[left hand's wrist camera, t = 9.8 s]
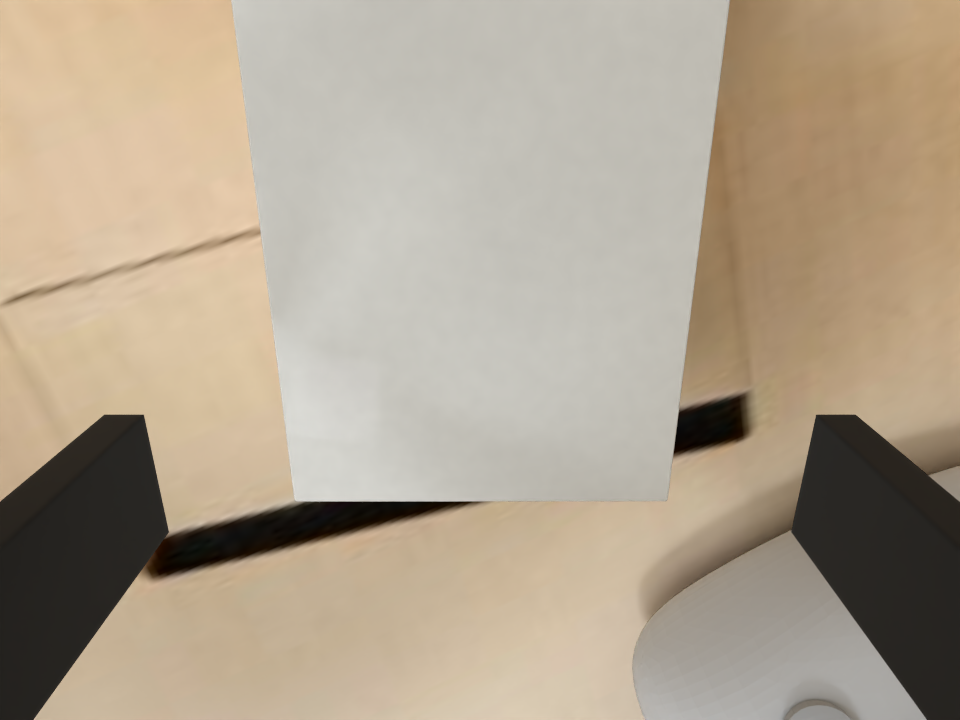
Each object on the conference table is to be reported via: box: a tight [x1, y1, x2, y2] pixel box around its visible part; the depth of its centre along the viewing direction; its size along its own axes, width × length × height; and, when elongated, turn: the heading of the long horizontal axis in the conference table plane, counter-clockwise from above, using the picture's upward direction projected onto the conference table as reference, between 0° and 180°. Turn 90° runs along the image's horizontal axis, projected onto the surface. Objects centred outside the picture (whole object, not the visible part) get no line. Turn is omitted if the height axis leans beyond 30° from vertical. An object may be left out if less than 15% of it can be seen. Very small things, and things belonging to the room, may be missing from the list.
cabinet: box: [231, 0, 730, 501], centre depth 21 cm, size 17×11×11 cm, turn 0°
